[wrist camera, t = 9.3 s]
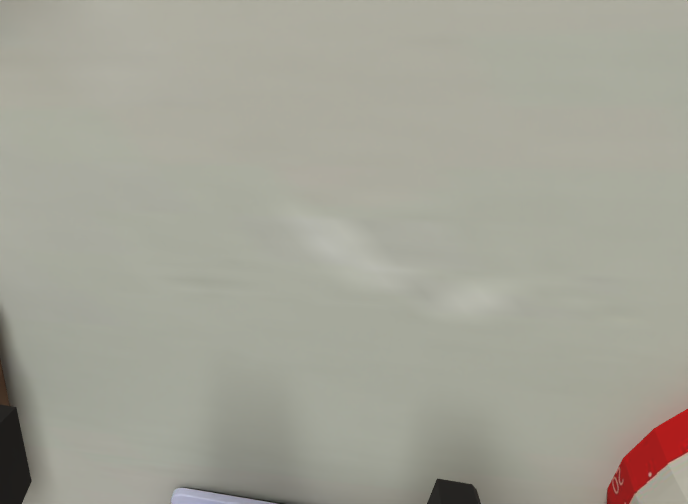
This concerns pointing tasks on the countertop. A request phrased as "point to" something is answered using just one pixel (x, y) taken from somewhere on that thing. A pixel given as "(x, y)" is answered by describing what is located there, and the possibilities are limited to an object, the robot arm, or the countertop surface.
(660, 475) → the kitchen timer
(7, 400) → the tower base
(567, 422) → the countertop surface
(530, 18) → the countertop surface
